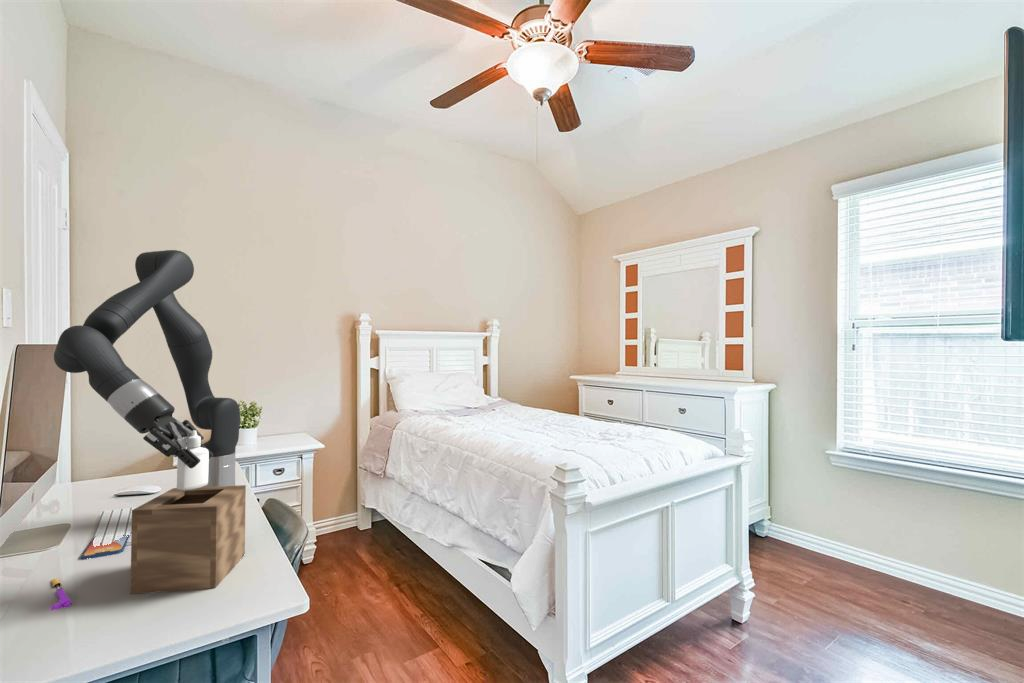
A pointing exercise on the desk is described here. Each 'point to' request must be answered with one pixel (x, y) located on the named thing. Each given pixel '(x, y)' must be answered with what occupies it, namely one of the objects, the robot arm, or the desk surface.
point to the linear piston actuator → (62, 595)
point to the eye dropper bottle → (199, 473)
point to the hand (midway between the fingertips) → (202, 461)
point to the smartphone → (105, 548)
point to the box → (187, 539)
